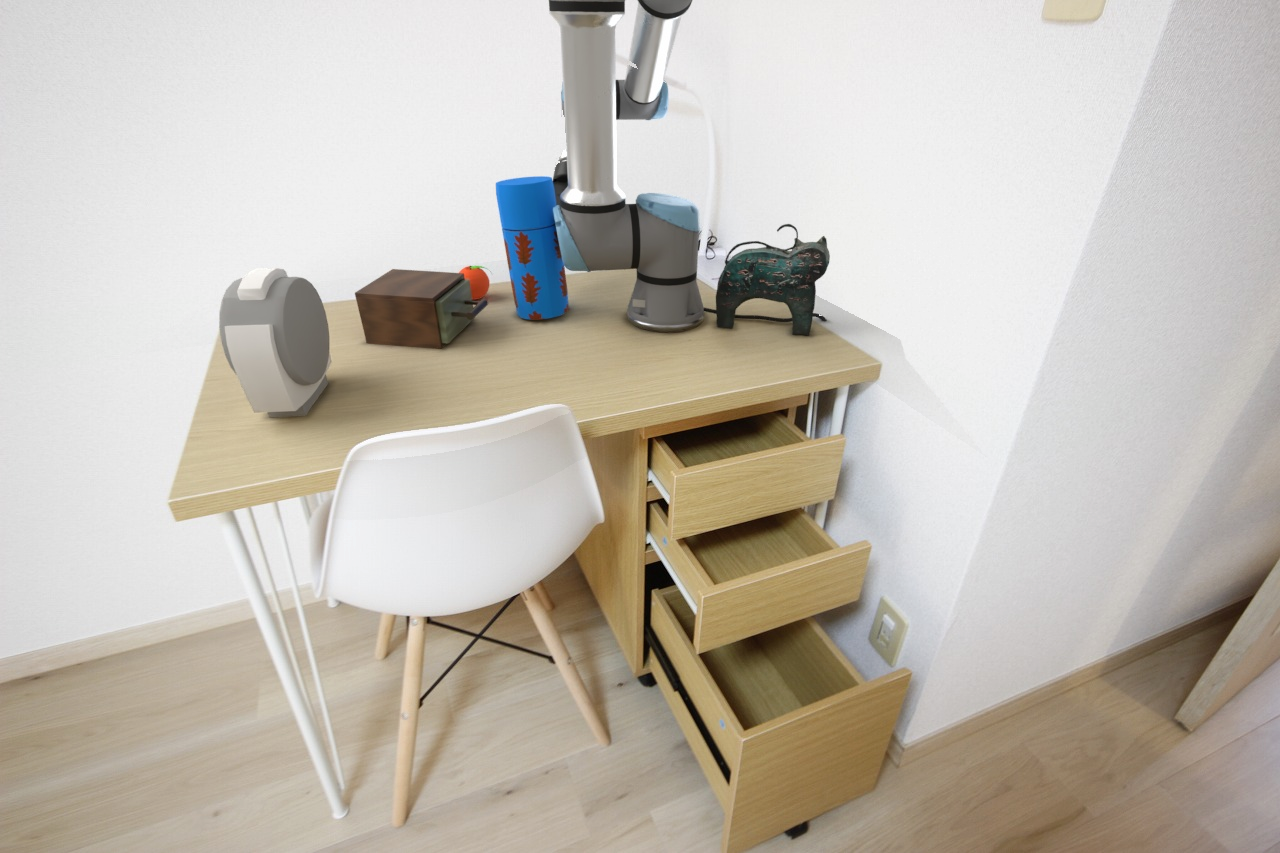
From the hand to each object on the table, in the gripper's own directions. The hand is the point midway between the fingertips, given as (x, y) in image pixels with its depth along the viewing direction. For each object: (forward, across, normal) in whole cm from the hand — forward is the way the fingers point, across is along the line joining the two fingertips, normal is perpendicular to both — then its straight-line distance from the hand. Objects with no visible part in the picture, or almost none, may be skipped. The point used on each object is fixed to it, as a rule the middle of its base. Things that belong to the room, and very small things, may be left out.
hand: (555, 267), depth 136 cm
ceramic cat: (+12, +44, -3) cm, 46 cm away
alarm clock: (+41, -26, -32) cm, 58 cm away
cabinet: (+21, -20, -12) cm, 32 cm away
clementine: (+8, -17, +1) cm, 18 cm away
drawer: (+20, -16, -13) cm, 29 cm away
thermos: (+12, 0, -3) cm, 12 cm away
